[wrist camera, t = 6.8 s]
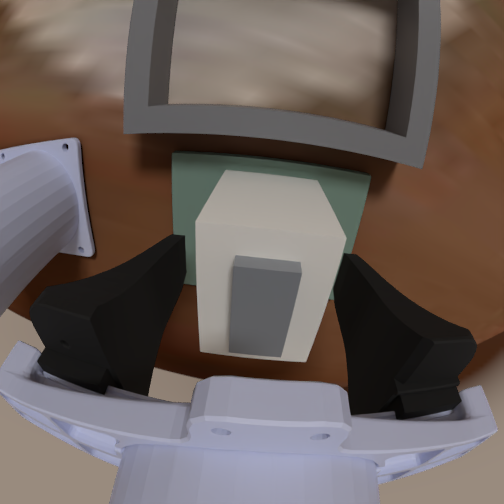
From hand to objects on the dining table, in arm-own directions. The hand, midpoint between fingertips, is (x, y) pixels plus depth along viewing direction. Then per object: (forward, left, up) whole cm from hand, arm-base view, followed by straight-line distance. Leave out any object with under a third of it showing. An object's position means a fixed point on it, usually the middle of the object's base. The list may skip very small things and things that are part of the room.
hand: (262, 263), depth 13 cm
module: (0, 0, -3) cm, 3 cm away
